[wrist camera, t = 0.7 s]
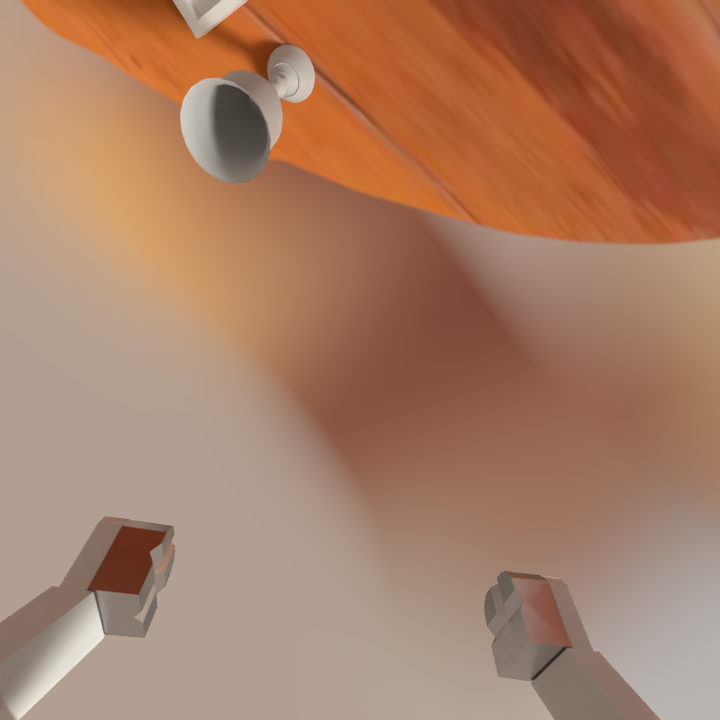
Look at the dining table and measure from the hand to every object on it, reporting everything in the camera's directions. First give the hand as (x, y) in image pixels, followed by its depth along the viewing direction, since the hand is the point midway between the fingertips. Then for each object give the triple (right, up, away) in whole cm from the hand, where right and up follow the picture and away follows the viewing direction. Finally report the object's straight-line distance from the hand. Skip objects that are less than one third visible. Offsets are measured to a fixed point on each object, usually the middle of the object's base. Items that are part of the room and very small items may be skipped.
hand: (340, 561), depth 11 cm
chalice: (-7, +35, +34) cm, 49 cm away
